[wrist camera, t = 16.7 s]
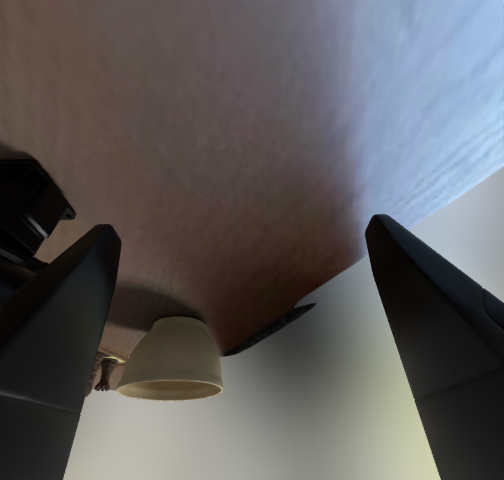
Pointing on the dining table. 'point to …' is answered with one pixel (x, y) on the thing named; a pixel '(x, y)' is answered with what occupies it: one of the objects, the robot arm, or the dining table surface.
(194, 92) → the dining table surface
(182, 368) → the planter bowl
